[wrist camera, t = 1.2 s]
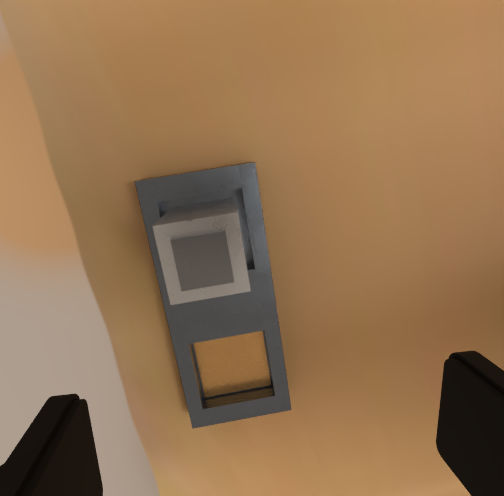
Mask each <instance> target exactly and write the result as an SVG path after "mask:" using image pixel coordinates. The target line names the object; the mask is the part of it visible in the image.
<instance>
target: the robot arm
mask: <svg viewBox="0 0 504 496" xmlns="http://www.w3.org/2000/svg"><path fill="white" fill-rule="evenodd" d="M436 445H437V449H438V451H439V454H440V455H441V457H442V458H443V460H444V461H445V462H446V464H447V465H448V466H449V467H450V469H451V470H452V471H453V472H454V474H455V475H456V476H457V478H458V479H459V480H460V481H461V483H462V484H463V485H464V487H465V488H466V489H467V490H468V492H469V493H470V494H471V496H504V371H503V370H502V369H500V368H499V367H498V366H496V365H495V364H493V363H492V362H491V361H489V360H488V359H487V358H485V357H484V356H482V355H481V354H480V353H478V352H476V351H466V352H456V353H452V354H451V355H450V356H449V359H447V360H446V361H445V363H444V371H443V380H442V390H441V399H440V409H439V419H438V428H437V438H436ZM0 496H103V487H102V481H101V475H100V470H99V465H98V459H97V454H96V448H95V443H94V437H93V432H92V427H91V421H90V416H89V411H88V405H87V402H86V400H85V399H79V396H78V395H77V394H69V395H59V396H52V397H50V398H49V399H48V400H47V401H46V403H45V404H44V406H43V407H42V409H41V410H40V412H39V413H38V415H37V416H36V418H35V419H34V420H33V422H32V423H31V425H30V427H29V428H28V429H27V431H26V432H25V434H24V435H23V437H22V438H21V440H20V441H19V443H18V444H17V446H16V447H15V449H14V450H13V452H12V453H11V455H10V456H9V458H8V459H7V461H6V462H5V463H4V464H3V465H1V466H0Z"/></svg>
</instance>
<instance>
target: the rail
mask: <svg viewBox="0 0 504 496" xmlns="http://www.w3.org/2000/svg"><path fill="white" fill-rule="evenodd" d="M135 185H136V189H137V193H138V198H139V202H140V206H141V210H142V215H143V219H144V223H145V228H146V232H147V236H148V240H149V245H150V249H151V253H152V257H153V262H154V266H155V270H156V274H157V279H158V283H159V287H160V291H161V296H162V300H163V304H164V309H165V313H166V317H167V321H168V326H169V330H170V334H171V338H172V343H173V347H174V351H175V355H176V360H177V364H178V368H179V373H180V377H181V381H182V385H183V390H184V394H185V398H186V402H187V407H188V411H189V415H190V419H191V424H192V428H198V427H203V426H208V425H214V424H219V423H224V422H230V421H235V420H240V419H245V418H251V417H256V416H261V415H266V414H272V413H277V412H282V411H288V410H291V404H290V397H289V390H288V383H287V376H286V370H285V363H284V356H283V349H282V342H281V335H280V329H279V322H278V315H277V308H276V301H275V295H274V288H273V281H272V274H271V267H270V260H269V254H268V247H267V240H266V233H265V226H264V219H263V213H262V206H261V199H260V192H259V185H258V178H257V172H256V165H255V162H250V163H243V164H237V165H231V166H224V167H218V168H212V169H206V170H199V171H193V172H187V173H180V174H174V175H168V176H162V177H155V178H149V179H143V180H139V181H135ZM229 198H234V201H235V204H236V208H237V211H238V216H239V222H240V228H241V234H242V241H243V247H244V253H245V259H246V265H247V271H248V277H249V283H250V289H251V291H249V292H244V293H238V294H232V295H227V296H221V297H215V298H209V299H204V300H198V301H192V302H186V303H181V304H175V305H170V301H169V296H168V292H167V287H166V283H165V279H164V274H163V270H162V266H161V261H160V257H159V253H158V248H157V244H156V239H155V235H154V231H153V225H154V224H155V223H156V222H157V221H158V220H159V219H160V218H161V217H163V216H164V215H165V214H166V213H167V212H168V211H169V210H170V209H171V208H174V207H180V206H186V205H192V204H198V203H204V202H210V201H216V200H223V199H229Z"/></svg>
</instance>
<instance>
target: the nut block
mask: <svg viewBox="0 0 504 496" xmlns="http://www.w3.org/2000/svg"><path fill="white" fill-rule="evenodd" d="M153 231H154V235H155V239H156V244H157V248H158V253H159V257H160V261H161V266H162V270H163V274H164V279H165V283H166V287H167V292H168V296H169V301H170V305H175V304H181V303H186V302H192V301H198V300H204V299H209V298H215V297H221V296H227V295H232V294H238V293H244V292H249V291H251V289H250V283H249V277H248V271H247V265H246V259H245V253H244V247H243V241H242V234H241V228H240V222H239V216H238V211H237V208H236V204H235V201H234V198H229V199H223V200H216V201H210V202H204V203H198V204H192V205H186V206H180V207H174V208H171V209H170V210H169V211H168V212H167V213H166V214H165V215H164V216H163V217H161V218H160V219H159V220H158V221H157V222H156V223H155V224H154V225H153Z"/></svg>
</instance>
